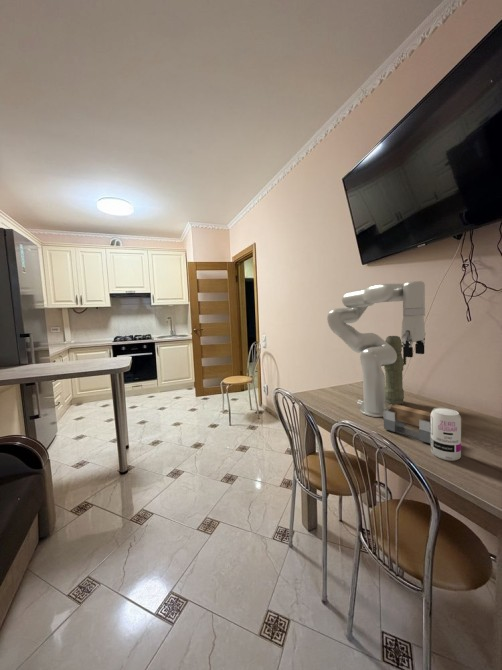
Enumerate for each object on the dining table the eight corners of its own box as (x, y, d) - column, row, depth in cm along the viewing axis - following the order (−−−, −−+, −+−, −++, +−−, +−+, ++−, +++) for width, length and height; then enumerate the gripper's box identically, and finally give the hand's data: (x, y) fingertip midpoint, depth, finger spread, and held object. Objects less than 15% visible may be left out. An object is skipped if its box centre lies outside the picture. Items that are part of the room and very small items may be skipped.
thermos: (378, 400, 146) (377, 336, 143) (400, 399, 146) (400, 334, 143) (386, 405, 137) (385, 337, 134) (410, 404, 137) (409, 336, 134)
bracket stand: (382, 429, 111) (382, 409, 110) (392, 424, 115) (392, 405, 114) (434, 447, 95) (434, 423, 94) (444, 440, 99) (444, 417, 99)
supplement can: (447, 448, 94) (447, 406, 93) (467, 460, 86) (467, 415, 85) (425, 449, 94) (424, 407, 92) (442, 462, 85) (442, 417, 84)
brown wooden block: (390, 418, 109) (390, 406, 109) (395, 415, 112) (395, 404, 111) (429, 429, 98) (429, 416, 97) (433, 426, 100) (433, 413, 100)
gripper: (414, 312, 115) (414, 351, 116) (393, 314, 105) (393, 357, 106) (433, 311, 109) (434, 353, 110) (413, 313, 99) (413, 359, 100)
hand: (414, 355), depth 108 cm, fingers open, 9 cm apart
